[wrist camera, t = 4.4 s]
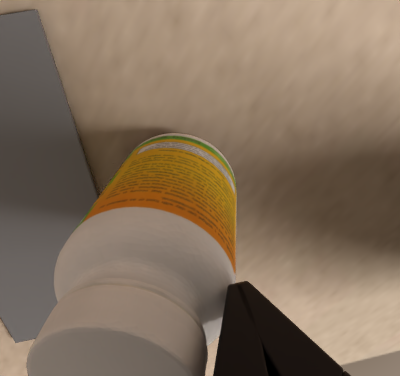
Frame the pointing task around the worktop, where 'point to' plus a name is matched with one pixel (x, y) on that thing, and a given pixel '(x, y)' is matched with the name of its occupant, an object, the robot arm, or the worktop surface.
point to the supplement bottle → (145, 268)
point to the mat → (35, 175)
